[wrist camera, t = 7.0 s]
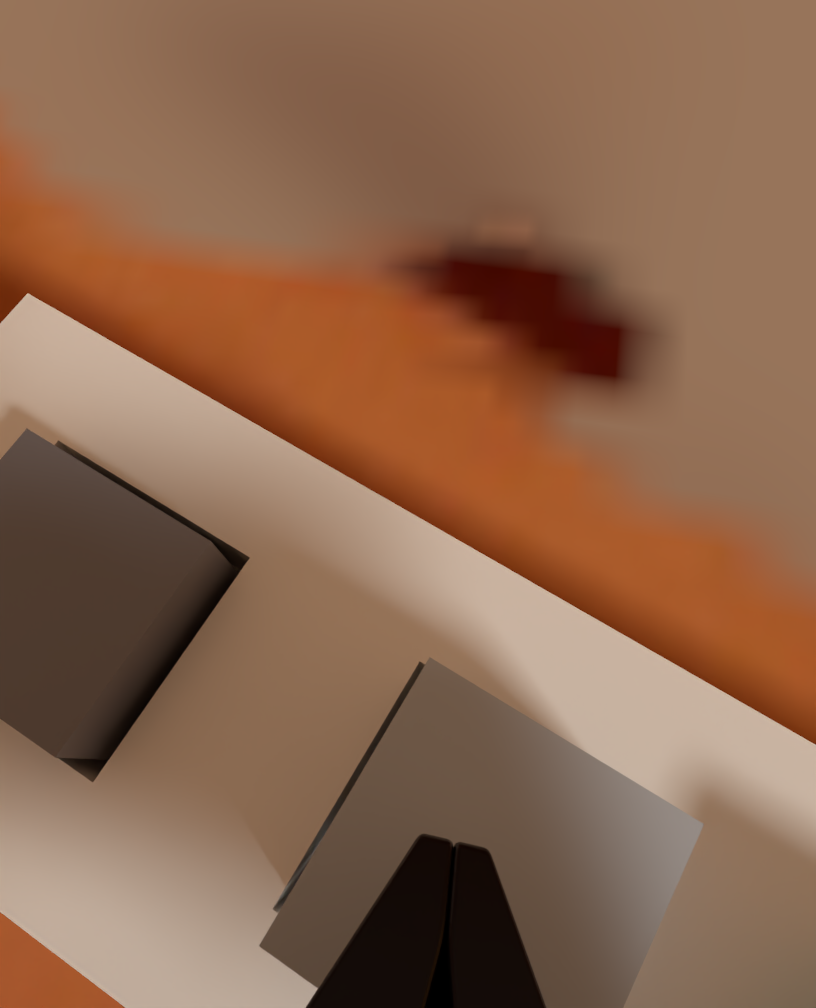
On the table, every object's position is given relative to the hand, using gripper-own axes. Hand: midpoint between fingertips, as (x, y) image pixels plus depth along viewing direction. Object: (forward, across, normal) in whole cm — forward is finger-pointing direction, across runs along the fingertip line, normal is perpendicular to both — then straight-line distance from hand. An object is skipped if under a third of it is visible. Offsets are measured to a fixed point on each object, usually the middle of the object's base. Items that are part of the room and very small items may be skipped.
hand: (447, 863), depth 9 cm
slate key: (+4, -1, +4) cm, 6 cm away
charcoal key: (+7, +8, +3) cm, 11 cm away
